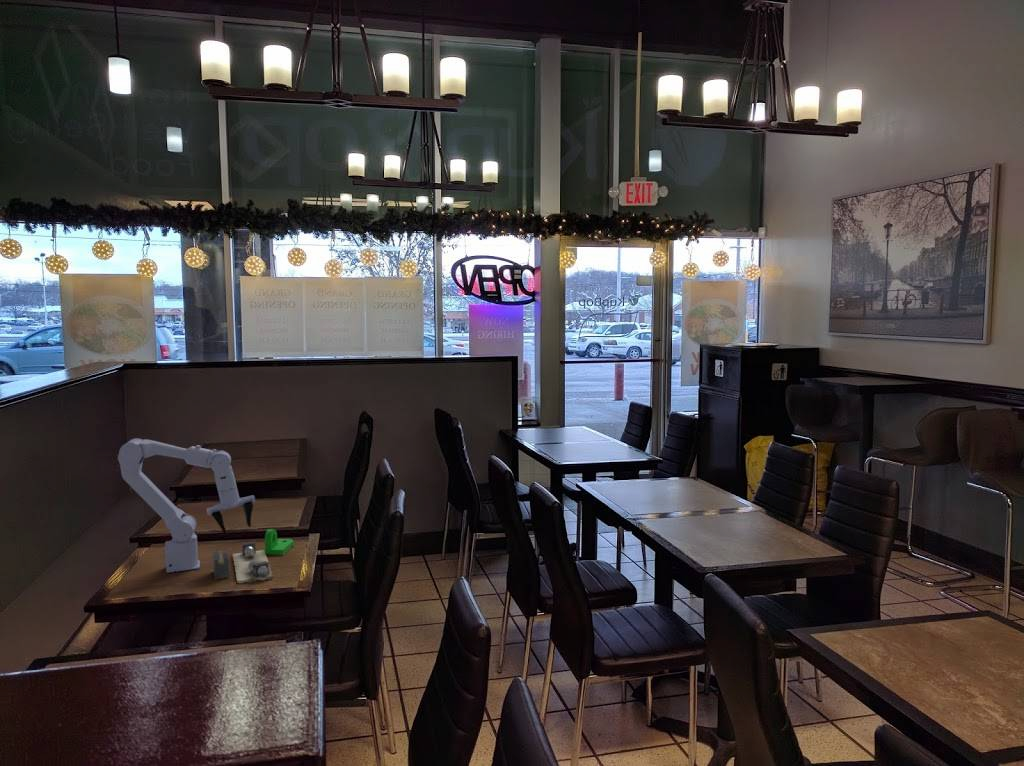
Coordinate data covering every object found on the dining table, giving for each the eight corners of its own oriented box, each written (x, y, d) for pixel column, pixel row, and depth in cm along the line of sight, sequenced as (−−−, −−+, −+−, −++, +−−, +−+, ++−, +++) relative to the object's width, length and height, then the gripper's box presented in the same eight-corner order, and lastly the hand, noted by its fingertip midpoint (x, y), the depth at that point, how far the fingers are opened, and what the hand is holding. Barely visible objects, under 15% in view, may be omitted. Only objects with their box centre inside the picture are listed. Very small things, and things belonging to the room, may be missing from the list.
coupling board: (237, 583, 218) (237, 581, 218) (232, 556, 244) (232, 553, 244) (272, 578, 222) (272, 576, 222) (264, 552, 248) (264, 549, 248)
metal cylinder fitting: (256, 557, 239) (256, 546, 239) (243, 559, 238) (243, 548, 237) (254, 550, 247) (254, 540, 246) (242, 552, 245) (241, 541, 245)
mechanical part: (283, 555, 244) (282, 532, 244) (265, 555, 245) (264, 531, 244) (296, 544, 256) (295, 522, 256) (279, 544, 257) (278, 521, 256)
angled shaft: (246, 572, 226) (246, 560, 225) (259, 569, 228) (259, 557, 228) (258, 578, 220) (257, 566, 220) (271, 575, 223) (270, 563, 222)
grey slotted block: (214, 580, 222) (213, 560, 221) (214, 570, 230) (213, 551, 229) (229, 578, 223) (228, 558, 223) (227, 569, 231) (226, 550, 231)
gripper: (205, 497, 228) (215, 539, 230) (253, 484, 235) (262, 524, 237) (201, 494, 234) (211, 535, 236) (248, 481, 241) (257, 520, 243)
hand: (237, 529), depth 237 cm, fingers open, 7 cm apart
